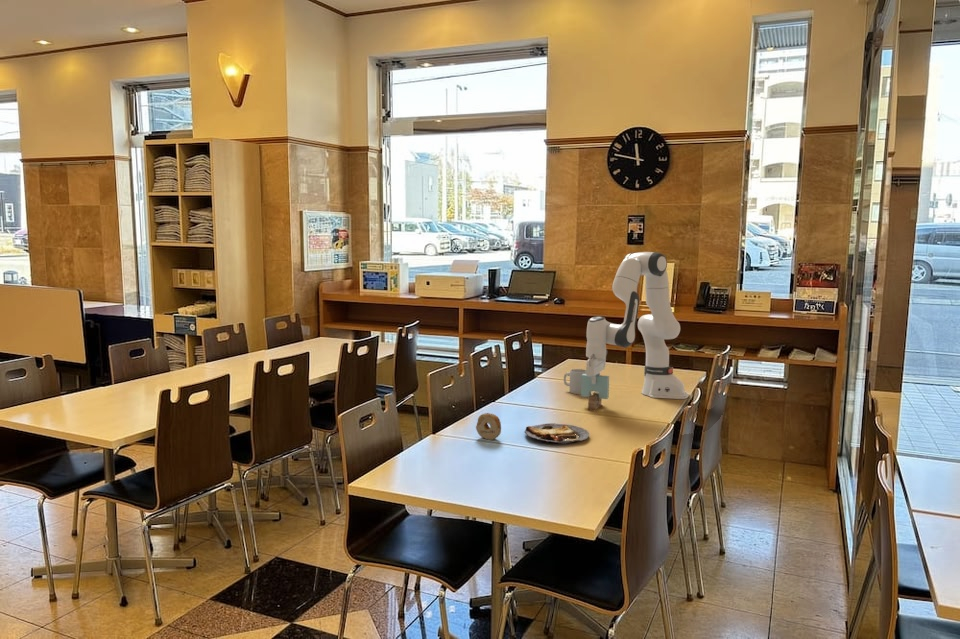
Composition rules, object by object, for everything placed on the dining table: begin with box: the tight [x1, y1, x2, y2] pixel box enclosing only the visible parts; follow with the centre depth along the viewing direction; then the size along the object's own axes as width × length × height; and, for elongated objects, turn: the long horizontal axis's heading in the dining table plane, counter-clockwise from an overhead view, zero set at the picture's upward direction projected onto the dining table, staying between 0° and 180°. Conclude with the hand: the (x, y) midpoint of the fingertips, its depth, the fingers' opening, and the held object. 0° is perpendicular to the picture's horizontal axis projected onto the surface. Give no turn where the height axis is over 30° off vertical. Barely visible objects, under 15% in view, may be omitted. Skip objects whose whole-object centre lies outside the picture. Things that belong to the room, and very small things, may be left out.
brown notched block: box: [587, 391, 602, 411], centre depth 315 cm, size 12×3×6 cm, turn 156°
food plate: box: [524, 422, 590, 445], centre depth 270 cm, size 25×23×4 cm
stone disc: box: [475, 412, 502, 441], centre depth 267 cm, size 10×4×10 cm, turn 56°
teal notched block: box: [580, 374, 610, 400], centre depth 314 cm, size 12×3×10 cm, turn 66°
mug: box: [563, 368, 586, 395], centre depth 345 cm, size 12×8×11 cm
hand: (595, 382), depth 314 cm, fingers closed on teal notched block, 3 cm apart
